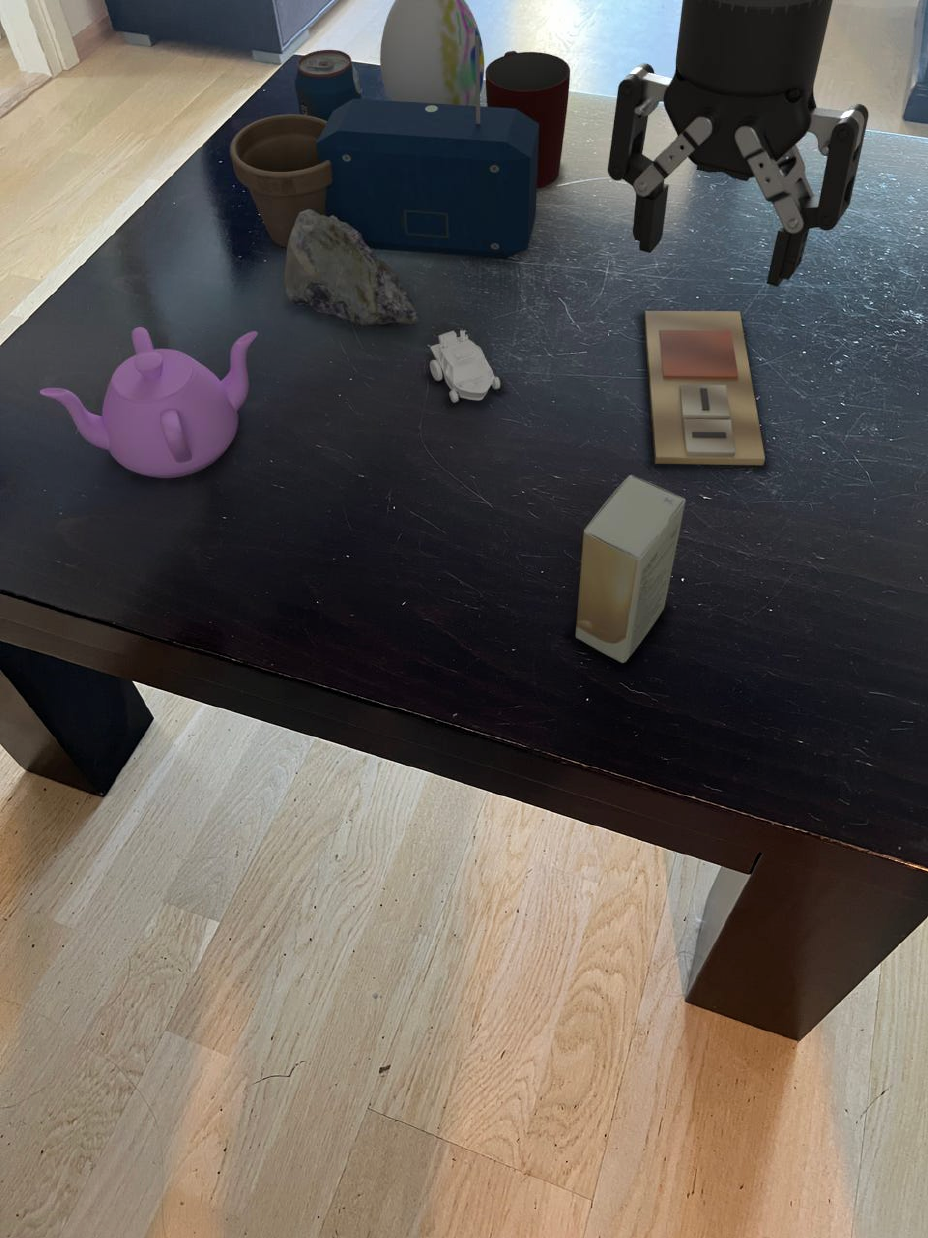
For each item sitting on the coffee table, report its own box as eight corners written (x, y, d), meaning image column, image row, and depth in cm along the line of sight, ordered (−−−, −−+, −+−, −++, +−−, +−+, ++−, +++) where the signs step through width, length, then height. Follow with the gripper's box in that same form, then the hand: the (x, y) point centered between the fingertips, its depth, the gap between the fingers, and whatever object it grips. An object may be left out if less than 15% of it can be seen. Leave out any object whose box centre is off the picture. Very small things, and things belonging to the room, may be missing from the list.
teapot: (76, 470, 84) (36, 389, 77) (172, 374, 91) (143, 293, 84) (188, 511, 81) (156, 430, 74) (278, 408, 88) (257, 326, 81)
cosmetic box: (615, 584, 74) (631, 469, 65) (666, 609, 73) (690, 495, 63) (571, 640, 71) (580, 529, 62) (622, 668, 70) (640, 558, 60)
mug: (471, 146, 114) (468, 46, 105) (544, 134, 115) (546, 34, 107) (499, 199, 107) (498, 96, 98) (575, 185, 108) (581, 82, 99)
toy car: (471, 351, 92) (469, 314, 88) (510, 400, 87) (510, 363, 84) (425, 367, 91) (421, 330, 87) (462, 418, 86) (460, 381, 83)
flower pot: (338, 270, 101) (327, 177, 92) (233, 259, 102) (213, 166, 94) (364, 209, 107) (356, 117, 99) (265, 200, 109) (249, 108, 100)
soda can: (377, 158, 114) (364, 48, 104) (360, 189, 110) (345, 79, 100) (321, 153, 115) (303, 44, 105) (302, 184, 111) (282, 74, 101)
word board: (763, 465, 81) (766, 453, 80) (654, 463, 82) (656, 451, 81) (738, 318, 93) (741, 305, 92) (643, 317, 94) (645, 304, 93)
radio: (537, 218, 105) (545, 15, 89) (525, 265, 100) (532, 59, 84) (349, 204, 107) (323, 4, 91) (328, 249, 102) (298, 46, 86)
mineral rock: (425, 338, 93) (417, 243, 85) (319, 369, 91) (300, 274, 83) (382, 267, 100) (370, 173, 92) (282, 293, 98) (261, 200, 90)
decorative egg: (485, 138, 115) (481, -2, 103) (382, 141, 116) (367, 2, 104) (485, 89, 123) (482, -47, 111) (389, 92, 123) (375, -43, 111)
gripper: (925, -34, 49) (841, 261, 61) (661, -71, 54) (634, 209, 66) (881, 21, 45) (801, 324, 57) (601, -25, 50) (584, 263, 62)
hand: (711, 262), depth 62 cm, fingers open, 8 cm apart
